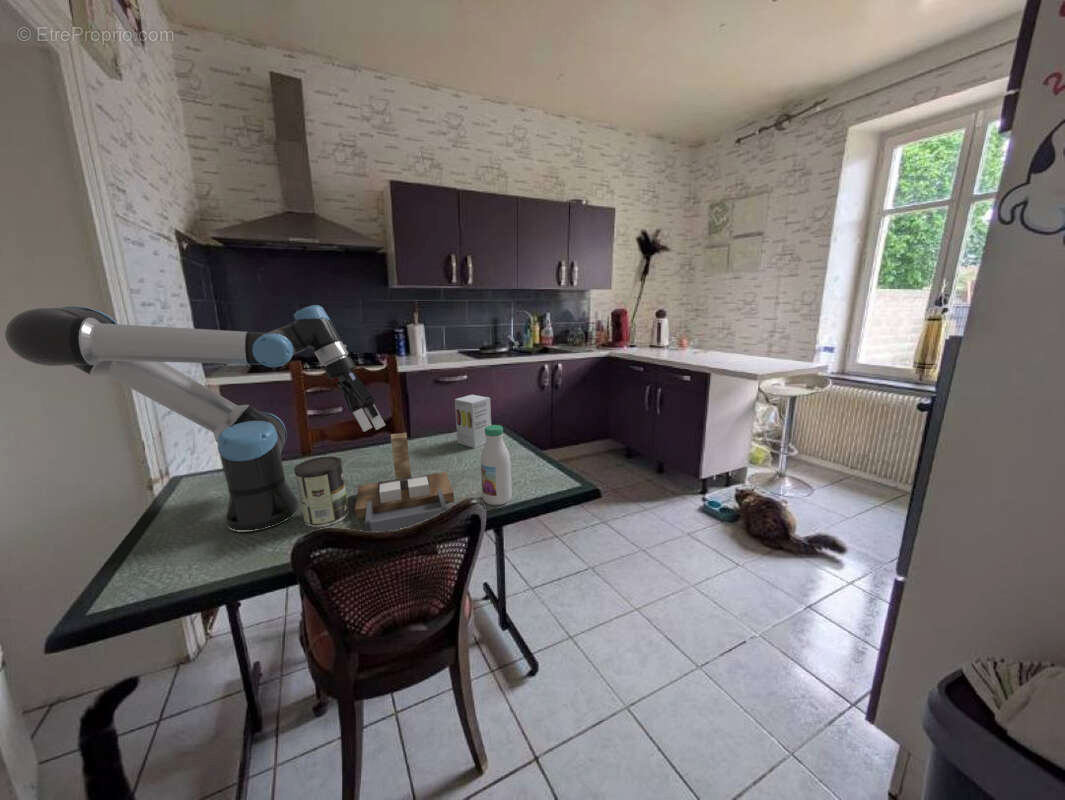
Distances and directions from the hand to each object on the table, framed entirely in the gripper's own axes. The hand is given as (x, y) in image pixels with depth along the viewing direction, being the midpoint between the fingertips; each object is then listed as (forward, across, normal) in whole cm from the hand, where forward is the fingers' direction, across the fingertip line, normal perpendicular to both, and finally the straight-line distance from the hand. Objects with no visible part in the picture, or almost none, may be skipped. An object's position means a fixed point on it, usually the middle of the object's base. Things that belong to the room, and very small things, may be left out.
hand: (374, 428), depth 117 cm
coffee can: (+13, -6, +22) cm, 26 cm away
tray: (+22, -20, +8) cm, 31 cm away
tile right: (+19, -14, +1) cm, 24 cm away
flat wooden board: (+20, -9, +4) cm, 22 cm away
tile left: (+17, -12, +8) cm, 22 cm away
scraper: (+17, -7, +2) cm, 18 cm away
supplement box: (+23, +15, -32) cm, 42 cm away
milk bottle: (+30, -25, -13) cm, 41 cm away
